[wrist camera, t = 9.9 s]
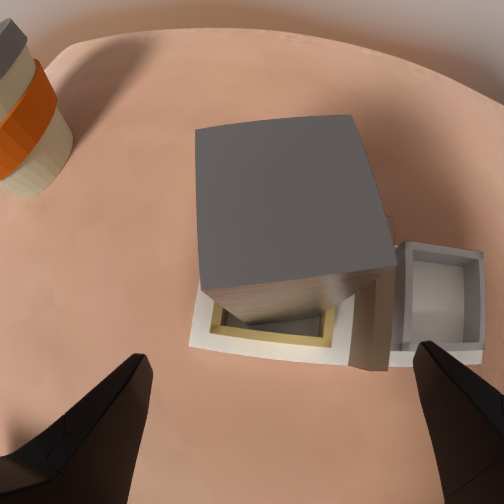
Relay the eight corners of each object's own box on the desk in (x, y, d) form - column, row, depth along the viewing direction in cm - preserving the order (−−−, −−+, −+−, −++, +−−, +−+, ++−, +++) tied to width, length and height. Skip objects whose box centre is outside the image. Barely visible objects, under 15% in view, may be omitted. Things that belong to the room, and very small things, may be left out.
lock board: (192, 346, 18) (165, 345, 13) (212, 229, 20) (195, 195, 15) (473, 363, 16) (517, 363, 11) (475, 261, 18) (514, 239, 13)
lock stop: (248, 325, 17) (200, 290, 6) (241, 260, 18) (195, 129, 7) (316, 317, 17) (397, 264, 6) (306, 252, 18) (351, 114, 7)
